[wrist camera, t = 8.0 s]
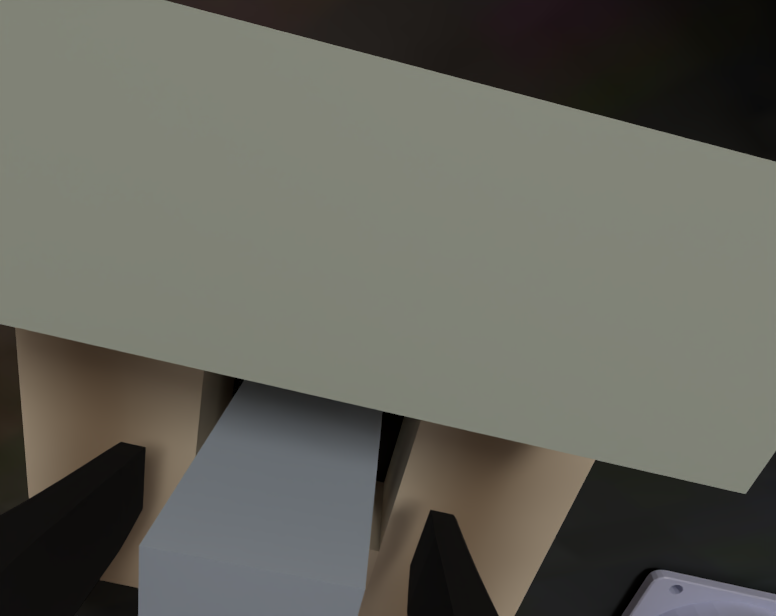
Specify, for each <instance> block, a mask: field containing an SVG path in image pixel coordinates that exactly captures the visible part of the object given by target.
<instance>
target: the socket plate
mask: <svg viewBox="0 0 776 616" xmlns="http://www.w3.org/2000/svg"><path fill="white" fill-rule="evenodd" d="M15 331H16V343H17V356H18V368H19V381H20V393H21V406H22V418H23V431H24V443H25V455H26V468H27V480H28V493H29V499H30V498H31V497H33V496H34V495H36V494H38V493H39V492H41V491H43V490H44V489H46V488H48V487H49V486H51V485H53V484H54V483H56V482H58V481H59V480H61V479H62V478H64V477H66V476H67V475H69V474H70V473H72V472H73V471H75V470H77V469H78V468H80V467H81V466H83V465H85V464H86V463H88V462H89V461H91V460H92V459H94V458H96V457H97V456H99V455H100V454H102V453H103V452H105V451H107V450H108V449H110V448H111V447H113V446H115V445H116V444H118V443H120V442H125V443H129V444H134V445H138V446H143V447H146V453H145V475H144V497H143V510H142V511H141V513H140V515H139V517H138V519H137V521H136V523H135V524H134V526H133V528H132V530H131V532H130V533H129V535H128V537H127V539H126V540H125V542H124V544H123V546H122V547H121V549H120V551H119V552H118V554H117V555H116V557H115V558H114V560H113V561H112V562H111V564H110V565H109V567H108V568H107V570H106V571H105V572H104V574H103V575H102V577H101V578H100V580H102V581H107V582H112V583H117V584H122V585H127V586H131V587H136V588H139V545H140V543H141V542H142V540H143V539H144V537H145V535H146V534H147V532H148V531H149V529H150V528H151V526H152V524H153V523H154V521H155V520H156V518H157V517H158V515H159V513H160V512H161V510H162V509H163V507H164V506H165V504H166V502H167V501H168V499H169V498H170V496H171V494H172V493H173V491H174V490H175V488H176V487H177V485H178V483H179V482H180V480H181V479H182V477H183V476H184V474H185V472H186V471H187V469H188V468H189V466H190V465H191V463H192V461H193V460H194V458H195V457H196V455H197V454H198V452H199V450H200V449H201V447H202V446H203V444H204V443H205V441H206V439H207V438H208V436H209V435H210V433H211V431H212V430H213V428H214V427H215V425H216V424H217V422H218V420H219V419H220V417H221V416H222V414H223V413H224V411H225V409H226V408H227V406H228V405H229V403H230V402H231V400H232V396H233V388H234V380H235V377H231V376H227V375H222V374H218V373H213V372H209V371H205V370H200V369H196V368H191V367H187V366H183V365H178V364H174V363H170V362H165V361H161V360H156V359H152V358H148V357H143V356H139V355H135V354H130V353H126V352H121V351H117V350H113V349H108V348H104V347H99V346H95V345H91V344H86V343H82V342H78V341H73V340H69V339H64V338H60V337H56V336H51V335H47V334H43V333H38V332H34V331H29V330H25V329H21V328H16V327H15ZM594 461H595V459H590V458H586V457H581V456H577V455H573V454H568V453H564V452H559V451H555V450H551V449H546V448H542V447H538V446H533V445H529V444H524V443H520V442H516V441H511V440H507V439H503V438H498V437H494V436H489V435H485V434H481V433H476V432H472V431H467V430H463V429H459V428H454V427H450V426H446V425H441V424H437V423H432V422H428V421H424V420H419V419H415V418H411V417H406V416H404V418H403V422H402V425H401V428H400V432H399V435H398V438H397V441H396V445H395V448H394V451H393V455H392V458H391V461H390V465H389V468H388V471H387V474H386V478H385V481H384V482H379V481H376V484H375V495H374V505H373V515H372V525H371V536H370V546H369V556H368V566H367V576H366V587H365V592H364V596H363V599H362V602H361V606H360V609H359V613H358V616H407V601H408V585H409V571H410V564H411V561H412V559H413V556H414V553H415V550H416V548H417V545H418V542H419V539H420V537H421V534H422V531H423V528H424V526H425V523H426V520H427V517H428V515H429V512H430V510H435V511H439V512H444V513H448V514H453V515H454V516H455V517H456V519H457V522H458V524H459V527H460V529H461V532H462V535H463V537H464V540H465V542H466V545H467V547H468V549H469V552H470V554H471V556H472V559H473V561H474V563H475V566H476V568H477V570H478V573H479V575H480V577H481V579H482V581H483V584H484V586H485V588H486V590H487V592H488V594H489V596H490V598H491V600H492V603H493V605H494V607H495V609H496V611H497V613H498V615H499V616H515V614H516V612H517V610H518V608H519V606H520V604H521V602H522V600H523V598H524V596H525V594H526V592H527V590H528V588H529V587H530V585H531V583H532V581H533V579H534V577H535V575H536V573H537V571H538V569H539V567H540V565H541V563H542V561H543V560H544V558H545V556H546V554H547V552H548V550H549V548H550V546H551V544H552V542H553V540H554V538H555V536H556V534H557V532H558V531H559V529H560V527H561V525H562V523H563V521H564V519H565V517H566V515H567V513H568V511H569V509H570V507H571V505H572V504H573V502H574V500H575V498H576V496H577V494H578V492H579V490H580V488H581V486H582V484H583V482H584V480H585V478H586V477H587V475H588V473H589V471H590V469H591V467H592V465H593V463H594Z"/></svg>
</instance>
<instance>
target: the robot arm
mask: <svg viewBox="0 0 776 616" xmlns="http://www.w3.org/2000/svg"><path fill="white" fill-rule="evenodd" d="M145 453H146V447H143V446H138V445H134V444H129V443H125V442H120V443H118V444H116V445H115V446H113V447H111V448H110V449H108V450H107V451H105V452H103V453H102V454H100V455H99V456H97V457H96V458H94V459H92V460H91V461H89V462H88V463H86V464H85V465H83V466H81V467H80V468H78V469H77V470H75V471H73V472H72V473H70V474H69V475H67V476H66V477H64V478H62V479H61V480H59V481H58V482H56V483H54V484H53V485H51V486H49V487H48V488H46V489H44V490H43V491H41V492H39V493H38V494H36V495H34V496H33V497H31V498H30V499H28V500H26V501H25V502H23V503H21V504H19V505H18V506H16V507H14V508H12V509H11V510H9V511H7V512H5V513H3V514H2V515H0V616H74V615H75V613H76V612H77V611H78V609H79V608H80V606H81V605H82V603H83V602H84V601H85V599H86V598H87V596H88V595H89V594H90V592H91V591H92V589H93V588H94V587H95V585H96V584H97V582H98V581H99V580H100V578H101V577H102V575H103V574H104V572H105V571H106V570H107V568H108V567H109V565H110V564H111V562H112V561H113V560H114V558H115V557H116V555H117V554H118V552H119V551H120V549H121V547H122V546H123V544H124V542H125V540H126V539H127V537H128V535H129V533H130V532H131V530H132V528H133V526H134V524H135V523H136V521H137V519H138V517H139V515H140V513H141V511H142V510H143V497H144V475H145ZM407 616H499V615H498V613H497V611H496V609H495V607H494V605H493V603H492V600H491V598H490V596H489V594H488V592H487V590H486V588H485V586H484V584H483V581H482V579H481V577H480V575H479V573H478V570H477V568H476V566H475V563H474V561H473V559H472V556H471V554H470V552H469V549H468V547H467V545H466V542H465V540H464V537H463V535H462V532H461V529H460V527H459V524H458V522H457V519H456V517H455V516H454V515H453V514H448V513H444V512H439V511H435V510H430V512H429V515H428V517H427V520H426V523H425V526H424V528H423V531H422V534H421V537H420V539H419V542H418V545H417V548H416V550H415V553H414V556H413V559H412V561H411V564H410V571H409V585H408V601H407ZM622 616H776V594H772V593H768V592H763V591H759V590H754V589H749V588H745V587H740V586H736V585H731V584H726V583H722V582H717V581H713V580H708V579H704V578H699V577H694V576H690V575H685V574H681V573H676V572H671V571H667V570H654V571H652V572H651V573H650V574H649V575H648V576H647V577H646V579H645V580H644V582H643V583H642V585H641V586H640V588H639V589H638V591H637V593H636V594H635V596H634V597H633V599H632V600H631V602H630V603H629V605H628V606H627V608H626V609H625V611H624V612H623V614H622Z"/></svg>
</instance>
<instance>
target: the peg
mask: <svg viewBox="0 0 776 616" xmlns="http://www.w3.org/2000/svg"><path fill="white" fill-rule="evenodd" d="M382 413H383V411H380V410H375V409H371V408H367V407H362V406H358V405H354V404H349V403H345V402H340V401H336V400H332V399H327V398H323V397H319V396H314V395H310V394H305V393H301V392H297V391H292V390H288V389H283V388H279V387H275V386H270V385H266V384H262V383H257V382H253V381H248V380H244V381H243V383H242V384H241V386H240V387H239V389H238V391H237V392H236V394H235V395H234V397H233V398H232V400H231V402H230V403H229V405H228V406H227V408H226V409H225V411H224V413H223V414H222V416H221V417H220V419H219V420H218V422H217V424H216V425H215V427H214V428H213V430H212V431H211V433H210V435H209V436H208V438H207V439H206V441H205V443H204V444H203V446H202V447H201V449H200V450H199V452H198V454H197V455H196V457H195V458H194V460H193V461H192V463H191V465H190V466H189V468H188V469H187V471H186V472H185V474H184V476H183V477H182V479H181V480H180V482H179V483H178V485H177V487H176V488H175V490H174V491H173V493H172V494H171V496H170V498H169V499H168V501H167V502H166V504H165V506H164V507H163V509H162V510H161V512H160V513H159V515H158V517H157V518H156V520H155V521H154V523H153V524H152V526H151V528H150V529H149V531H148V532H147V534H146V535H145V537H144V539H143V540H142V542H141V543H140V545H139V591H138V616H358V613H359V609H360V606H361V602H362V599H363V596H364V592H365V587H366V576H367V566H368V556H369V546H370V536H371V525H372V515H373V505H374V495H375V484H376V474H377V464H378V454H379V443H380V433H381V423H382Z"/></svg>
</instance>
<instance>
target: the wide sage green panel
mask: <svg viewBox="0 0 776 616" xmlns="http://www.w3.org/2000/svg"><path fill="white" fill-rule="evenodd" d="M0 324H3V325H7V326H12V327H16V328H21V329H25V330H29V331H34V332H38V333H43V334H47V335H51V336H56V337H60V338H64V339H69V340H73V341H78V342H82V343H86V344H91V345H95V346H99V347H104V348H108V349H113V350H117V351H121V352H126V353H130V354H135V355H139V356H143V357H148V358H152V359H156V360H161V361H165V362H170V363H174V364H178V365H183V366H187V367H191V368H196V369H200V370H205V371H209V372H213V373H218V374H222V375H227V376H231V377H235V378H240V379H244V380H248V381H253V382H257V383H262V384H266V385H270V386H275V387H279V388H283V389H288V390H292V391H297V392H301V393H305V394H310V395H314V396H319V397H323V398H327V399H332V400H336V401H340V402H345V403H349V404H354V405H358V406H362V407H367V408H371V409H375V410H380V411H384V412H389V413H393V414H397V415H402V416H406V417H411V418H415V419H419V420H424V421H428V422H432V423H437V424H441V425H446V426H450V427H454V428H459V429H463V430H467V431H472V432H476V433H481V434H485V435H489V436H494V437H498V438H503V439H507V440H511V441H516V442H520V443H524V444H529V445H533V446H538V447H542V448H546V449H551V450H555V451H559V452H564V453H568V454H573V455H577V456H581V457H586V458H590V459H595V460H599V461H603V462H608V463H612V464H616V465H621V466H625V467H630V468H634V469H638V470H643V471H647V472H652V473H656V474H660V475H665V476H669V477H673V478H678V479H682V480H687V481H691V482H695V483H700V484H704V485H708V486H713V487H717V488H722V489H726V490H730V491H735V492H739V493H744V494H746V492H747V491H748V490H749V488H750V487H751V485H752V484H753V482H754V481H755V480H756V478H757V477H758V475H759V474H760V472H761V471H762V470H763V468H764V467H765V465H766V464H767V462H768V461H769V460H770V458H771V457H772V455H773V454H774V452H775V451H776V162H774V161H770V160H767V159H763V158H759V157H755V156H751V155H748V154H744V153H740V152H736V151H732V150H729V149H725V148H721V147H717V146H714V145H710V144H706V143H702V142H698V141H695V140H691V139H687V138H683V137H680V136H676V135H672V134H668V133H664V132H661V131H657V130H653V129H649V128H645V127H642V126H638V125H634V124H630V123H627V122H623V121H619V120H615V119H611V118H608V117H604V116H600V115H596V114H592V113H589V112H585V111H581V110H577V109H574V108H570V107H566V106H562V105H558V104H555V103H551V102H547V101H543V100H540V99H536V98H532V97H528V96H524V95H521V94H517V93H513V92H509V91H505V90H502V89H498V88H494V87H490V86H487V85H483V84H479V83H475V82H471V81H468V80H464V79H460V78H456V77H452V76H449V75H445V74H441V73H437V72H434V71H430V70H426V69H422V68H418V67H415V66H411V65H407V64H403V63H399V62H396V61H392V60H388V59H384V58H381V57H377V56H373V55H369V54H365V53H362V52H358V51H354V50H350V49H347V48H343V47H339V46H335V45H331V44H328V43H324V42H320V41H316V40H312V39H309V38H305V37H301V36H297V35H294V34H290V33H286V32H282V31H278V30H275V29H271V28H267V27H263V26H259V25H256V24H252V23H248V22H244V21H241V20H237V19H233V18H229V17H225V16H222V15H218V14H214V13H210V12H207V11H203V10H199V9H195V8H191V7H188V6H184V5H180V4H176V3H172V2H169V1H165V0H0Z"/></svg>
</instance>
